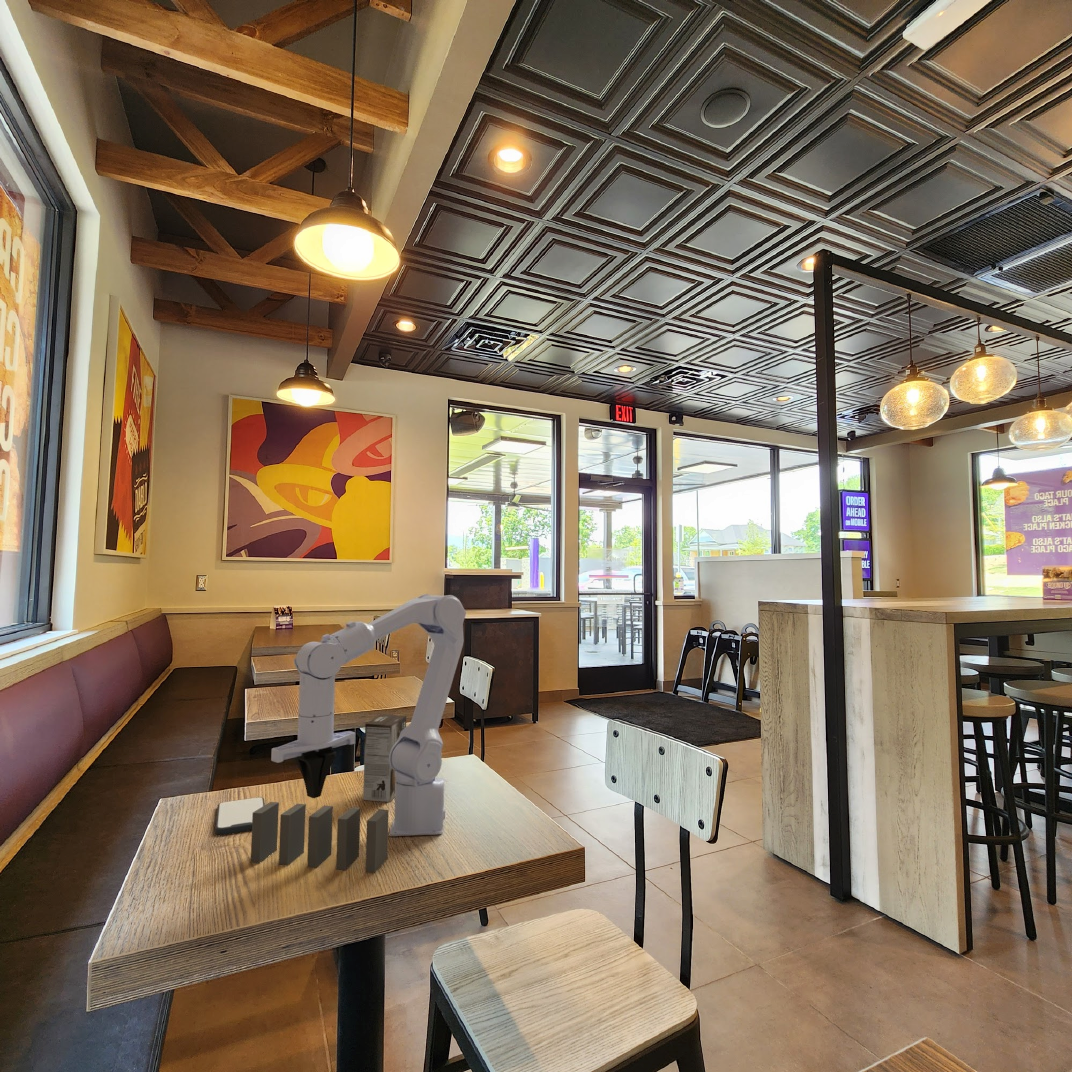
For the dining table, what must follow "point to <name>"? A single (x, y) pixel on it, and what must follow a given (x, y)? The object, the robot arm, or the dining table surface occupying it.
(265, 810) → the end domino
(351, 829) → the domino
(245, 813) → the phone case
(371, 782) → the coffee box
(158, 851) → the dining table surface
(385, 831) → the domino
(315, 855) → the domino
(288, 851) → the domino
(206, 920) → the dining table surface
